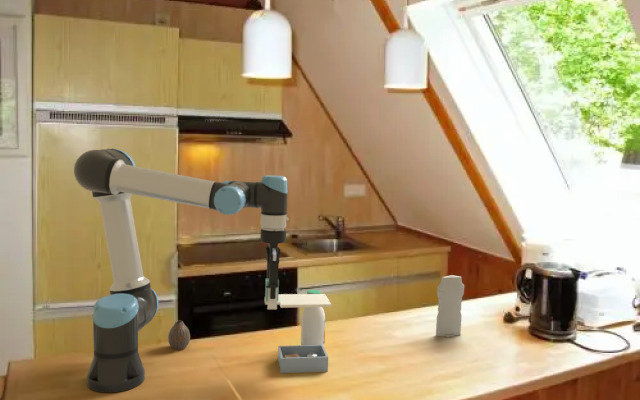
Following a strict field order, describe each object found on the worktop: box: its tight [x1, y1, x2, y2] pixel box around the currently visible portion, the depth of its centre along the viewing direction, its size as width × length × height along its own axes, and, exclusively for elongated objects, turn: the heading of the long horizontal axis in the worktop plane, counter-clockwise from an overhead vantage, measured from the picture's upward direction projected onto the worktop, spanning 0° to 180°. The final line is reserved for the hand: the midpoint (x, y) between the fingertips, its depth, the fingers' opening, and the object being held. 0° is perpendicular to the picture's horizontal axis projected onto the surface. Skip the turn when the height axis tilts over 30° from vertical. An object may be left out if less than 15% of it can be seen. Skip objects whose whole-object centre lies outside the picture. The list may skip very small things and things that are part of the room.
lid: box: [264, 277, 332, 309], centre depth 169 cm, size 19×11×7 cm, turn 99°
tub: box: [277, 344, 329, 374], centre depth 171 cm, size 14×10×5 cm
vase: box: [167, 320, 191, 351], centre depth 184 cm, size 7×7×9 cm
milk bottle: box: [300, 289, 326, 347], centre depth 184 cm, size 8×8×20 cm
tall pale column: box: [435, 274, 465, 338], centre depth 203 cm, size 11×4×22 cm, turn 105°
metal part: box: [307, 353, 317, 357], centre depth 173 cm, size 3×3×3 cm
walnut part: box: [284, 354, 300, 358], centre depth 171 cm, size 4×4×3 cm
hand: (271, 305), depth 168 cm, fingers closed on lid, 5 cm apart
